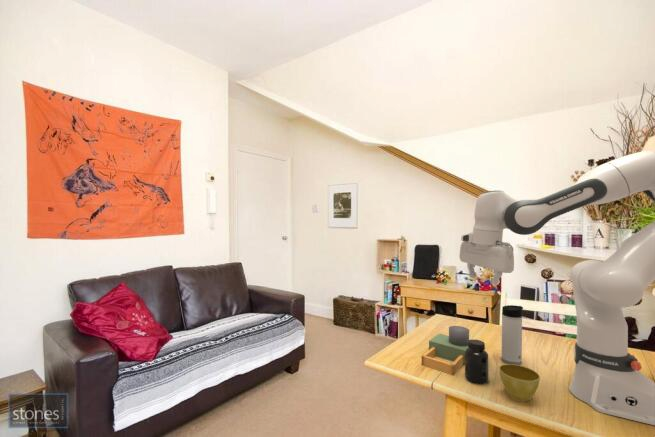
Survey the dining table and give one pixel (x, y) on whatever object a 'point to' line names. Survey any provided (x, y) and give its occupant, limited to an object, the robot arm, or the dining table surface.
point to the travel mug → (512, 334)
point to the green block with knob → (451, 343)
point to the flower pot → (519, 381)
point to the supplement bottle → (476, 362)
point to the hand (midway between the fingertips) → (482, 280)
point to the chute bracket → (441, 362)
